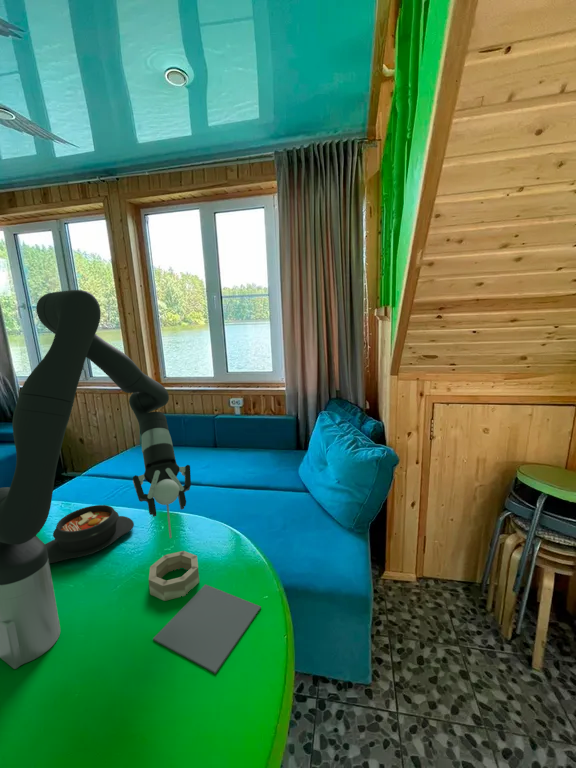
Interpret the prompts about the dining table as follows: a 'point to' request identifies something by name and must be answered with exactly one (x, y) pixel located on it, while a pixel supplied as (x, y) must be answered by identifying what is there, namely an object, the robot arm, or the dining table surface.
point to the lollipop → (166, 495)
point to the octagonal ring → (177, 585)
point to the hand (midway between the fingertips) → (169, 511)
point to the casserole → (86, 532)
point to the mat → (208, 627)
